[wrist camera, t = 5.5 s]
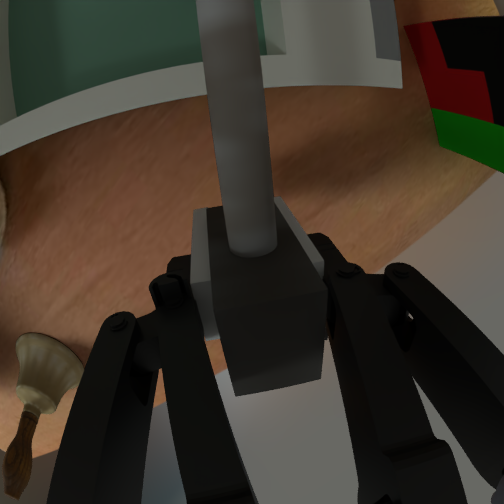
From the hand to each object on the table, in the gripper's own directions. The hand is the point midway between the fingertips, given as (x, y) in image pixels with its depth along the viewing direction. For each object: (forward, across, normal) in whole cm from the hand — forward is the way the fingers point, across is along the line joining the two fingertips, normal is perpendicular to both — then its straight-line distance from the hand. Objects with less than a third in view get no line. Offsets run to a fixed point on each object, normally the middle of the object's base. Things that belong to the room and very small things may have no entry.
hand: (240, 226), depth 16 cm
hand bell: (+4, -21, -13) cm, 25 cm away
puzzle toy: (+5, +20, +9) cm, 22 cm away
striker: (+2, 0, +13) cm, 13 cm away
